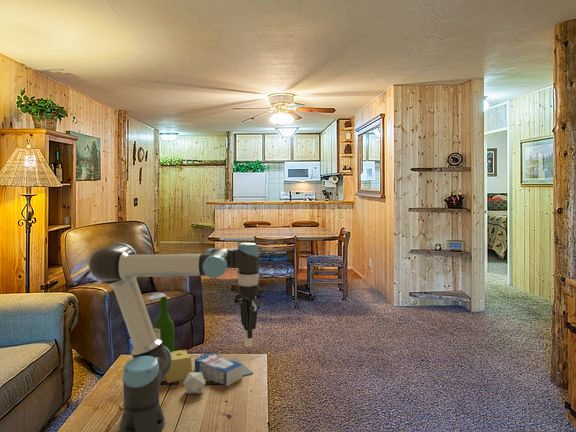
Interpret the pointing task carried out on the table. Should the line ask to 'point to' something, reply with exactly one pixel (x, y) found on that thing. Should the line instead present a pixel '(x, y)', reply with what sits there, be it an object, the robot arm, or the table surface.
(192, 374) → the die
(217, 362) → the milk carton
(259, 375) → the table surface
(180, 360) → the cheese
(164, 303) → the wine bottle
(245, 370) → the slate mat
